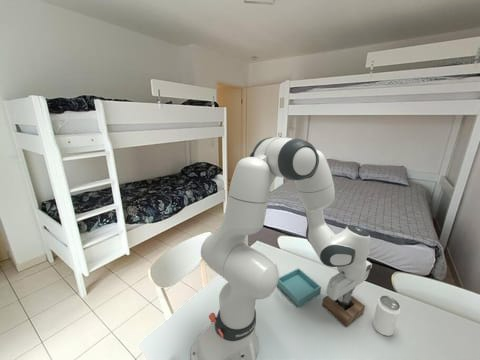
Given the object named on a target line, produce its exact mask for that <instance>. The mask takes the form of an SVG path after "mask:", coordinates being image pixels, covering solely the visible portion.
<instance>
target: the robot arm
mask: <svg viewBox="0 0 480 360" xmlns="http://www.w3.org/2000/svg"><path fill="white" fill-rule="evenodd" d="M277 177H278V178H283V179H287V180H289V181H294V185H295V188H296V191H297V195H298V198H299V200H300V202H301V204H302V205H303V208H304V213H305V217H306V223H307V225H306V226H307V227H306V229H305V230H306V231H305V237H306V240H307V242H308V243H309V244H310V245H311V247H312V249H313V251H314V252H315V254H316V256H317V257H318V259H319V260H320V262H321V263H322V264H323V265H325V266H326V267H330V268H336V269H337V272H338V273H336V274H335V275H333V276H331V277H330V279H329V280H328V284H327V287H326V290H325V293H326V296H327V295H328V296H329V297H330V298H331V299H332V300H334V301H335V300H337V299H338V300H339V301H340V302H342V301H343V300H344V296H343V295H344V294H346V293H347V292H349V291H350V290H352V295H353V293H354V291H355V289H356V287H358V286H359V285H361V284H362V283H364V282H365V281H366V279H367V278H368V276H369V274H370V270H371V269H372V267H373V263H371V262H370V261H369V260H367V258H368V257H369V256H370V251H371V245H372V244H371V240H372V239H371V235H370V233H369V232H367V230H365V229H364V228H362V227H361V226H357V225H354V224H349V225H347V226H346V227H345V228H344V229H343V230H342V231H340V232H339V233H335V232H334V231H333V230H332V228H331V227H330V226H329V224H328V223H327V222H326V221H325V220H326V219H325V216H324V211H323V210H324V209H326V208H328V207H329V206H331V205H332V204H333V202H334V201H335V198H336V197H335V195H336V194H335V193H336V190H335V189H336V188H335V184H334V179H333V175H332V172H331V168H330V165H329V164H328V161H327V159H326V156H325V154H324V153H323V152H322V151H321V150H318V149H317V148H315V146H314V145H313V144H312V143H310V142H309V141H307V140H304V139H302V138H290V137H286V136H275V137H274V136H273V137H271V136H270V137H266V138H263V139H261V140H259V142H257V144H256V145H255V146H254V148H253V150H252V152H251V153H250V155H249V156H247V157H244V158H241V159H240V160H239V161H238V162H236V165H235V168H234V171H233V174H232V178H231V181H230V185H229V190H228V195H227V202H226V207H225V212H224V217H223V220H222V223H221V225H220V227H219V228H218V229H217V230H216V231H215V232H213V233H211V234H209V235H208V236H207V237H206V238H205V239H204V241H203V243H202V245H201V247H200V257H201V259H202V260H203V262H204V263H206V265H207V266H208V267H209V269H210V270H212V271H214V272H215V273H216V274H218V275H219V276H220V277H222V278H223V279H224V280H225V281H226V283H225V284H224V285H223V287H222V288H221V290H220V292H219V295H218V296H219V297H218V298H219V309H218V312H217V314H215V313H214V312H211V313H209V315H208V318H209V320H210V322H211V323H210V324H209V325H208V326H207V327H206V329H205V330H203V331H202V333H200V335H199V337H198V340H197V341H195V343H193V344H192V346H191V349H190V360H256V358H257V355H258V353H259V348H260V344H259V343H260V342H259V339H258V336H257V332H256V324H257V312H256V301H257V300H258V301H259V300H264V299H267V298H268V297H270V296H271V295H272V294H274V292H275V290H276V289H277V288H278V287H277V284H278V280H279V277H280V274H279V269H278V266H277V265H276V263H275V262H274V261H272V260H271V259H270V258H269V257H268V256H266V255H265V254H264V253H262V252H261V251H258V250H257V249H255V248H252V247H251V246H249V245H247V244H246V238H247V236H250V235H252V236H253V235H254V234H257V233H258V232H260V231H261V230H262V229H263V227H264V224H265V219H266V215H267V208H268V203H269V198H270V197H269V196H270V192H271V190H270V189H271V187H272V184H273V182H274V181H275V180H276V178H277Z"/></svg>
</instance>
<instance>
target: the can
mask: <svg viewBox="0 0 480 360" xmlns="http://www.w3.org/2000/svg"><path fill="white" fill-rule="evenodd" d="M400 313H401V309H400V303H399V302H398V301H397V300H396V299H395V298H394V297H391V296H390V295H389V296H388V295H382V296H381V297H380V298H379V299H378V300H377V302H376V306H375V310H374V314H373V319H372V321H371V323H372V326H373V328H374V330H375V331H376V332H378V333H379V334H381V335H383V336H386V337H387V336H388V337H389V336H392V335H393V334H394V331H395V329H396V326H397V322H398V319H399V317H400Z"/></svg>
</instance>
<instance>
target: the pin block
mask: <svg viewBox="0 0 480 360" xmlns="http://www.w3.org/2000/svg"><path fill="white" fill-rule="evenodd" d="M321 306H322V307H323V308H324V309H325V310H327V312H329V313H330V315H332V316H333V317H334V318H335V320H337V321H338V322H339V323H340V324H342V326H344V327H345V328H347V327H349V326H350V325H351V324H353V323H354V322H355V321H357V319H359V318H360V317H361V316H363V315H364V312H365V308H366V306H365V305H364V304H363V303H362V302H360V301H359V300H358V299H356V298H355V297H354V296H352V295H351V300H350V304H349V309H348V310H346V311H345V310H344V309H343V308H342V307H341V306H340V305H338V299H337V300H335V301H334V300H332V299H331V298H330V297H329V296H328V295H327V294H326V295H325V296H324V297H323V298H322V304H321Z"/></svg>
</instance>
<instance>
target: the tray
mask: <svg viewBox="0 0 480 360" xmlns="http://www.w3.org/2000/svg"><path fill="white" fill-rule="evenodd" d="M276 288H278V289H279V290H280V291H281V293H283V294H284V295H285V297H287V298H288V299H289V300H290V302H291V303H292V304H293V305H294V306H295V307H296V308H297V309H298V308H300V307H302V306H304V305H305V304H307V303H309V302H310V301H311V300H313V299H315V298H316V297H318V296H320V295H321V291H322V286H321V285H319V283H317V281H315V280H314V279H313V278H311V277H310V276H309V275H308V274H306V273H305V272H304V271H303V270H302V269H300V267H298V268H295V269H293V270H291V271H290V272H288V273H286V274H284V275H282V276H279V280H278V284H277V287H276Z"/></svg>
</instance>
